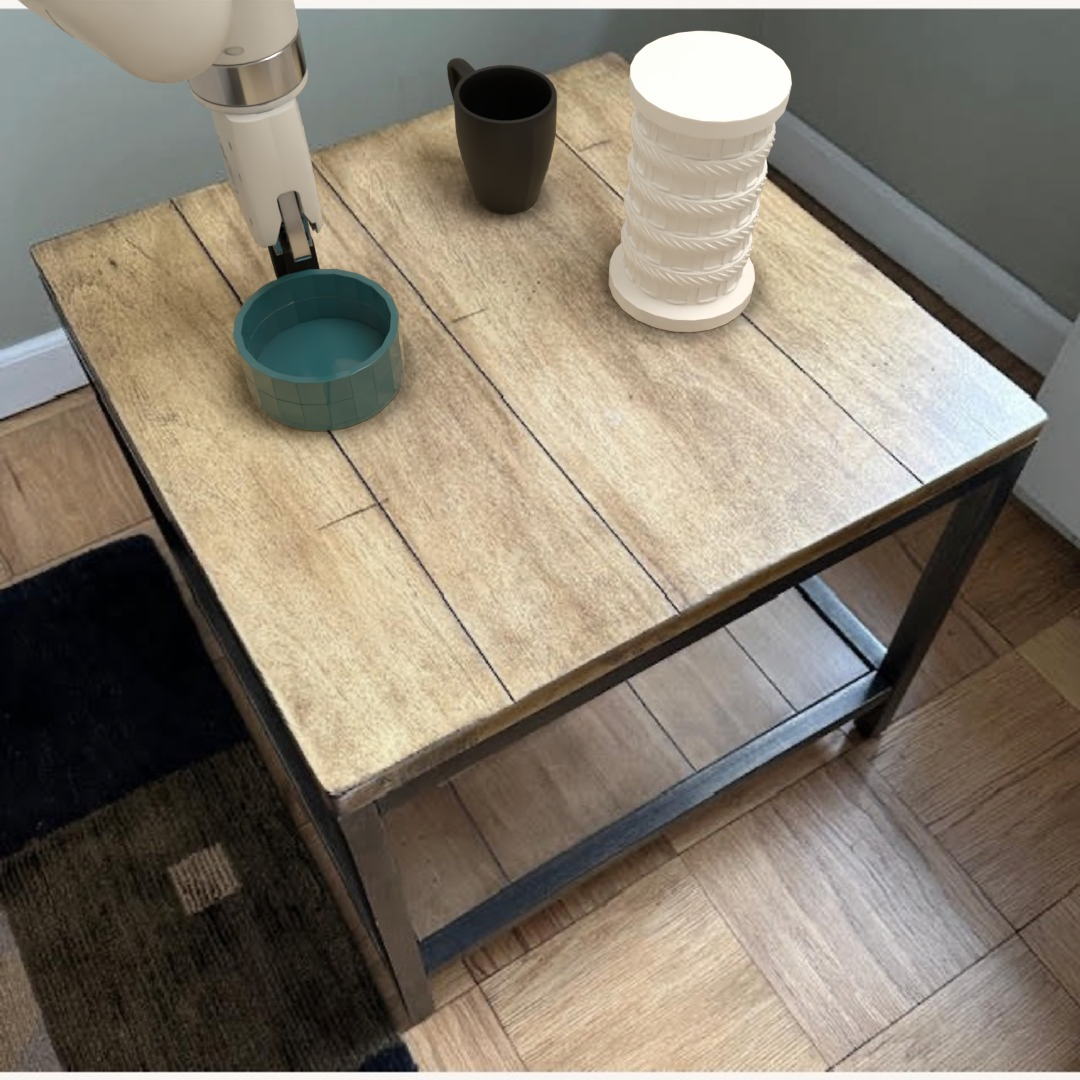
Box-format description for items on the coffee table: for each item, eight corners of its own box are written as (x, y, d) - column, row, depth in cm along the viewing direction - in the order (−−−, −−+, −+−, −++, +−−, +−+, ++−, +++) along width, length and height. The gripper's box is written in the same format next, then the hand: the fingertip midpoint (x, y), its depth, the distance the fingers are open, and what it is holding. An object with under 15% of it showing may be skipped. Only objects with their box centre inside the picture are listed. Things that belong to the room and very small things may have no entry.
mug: (499, 132, 100) (497, 32, 92) (573, 203, 94) (577, 102, 86) (420, 162, 97) (411, 61, 89) (491, 236, 91) (488, 135, 83)
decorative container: (587, 252, 90) (598, 44, 75) (715, 223, 92) (750, 16, 78) (641, 347, 84) (665, 139, 69) (777, 313, 86) (828, 105, 71)
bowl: (238, 433, 78) (223, 384, 74) (257, 320, 85) (244, 269, 81) (401, 429, 79) (395, 380, 74) (407, 317, 85) (401, 267, 81)
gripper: (160, 12, 72) (228, 234, 87) (213, 140, 64) (278, 360, 79) (271, -13, 74) (318, 209, 89) (336, 109, 66) (376, 330, 81)
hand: (299, 280), depth 84 cm, fingers closed
